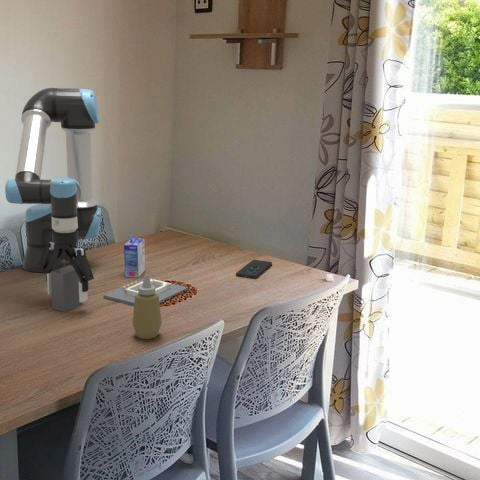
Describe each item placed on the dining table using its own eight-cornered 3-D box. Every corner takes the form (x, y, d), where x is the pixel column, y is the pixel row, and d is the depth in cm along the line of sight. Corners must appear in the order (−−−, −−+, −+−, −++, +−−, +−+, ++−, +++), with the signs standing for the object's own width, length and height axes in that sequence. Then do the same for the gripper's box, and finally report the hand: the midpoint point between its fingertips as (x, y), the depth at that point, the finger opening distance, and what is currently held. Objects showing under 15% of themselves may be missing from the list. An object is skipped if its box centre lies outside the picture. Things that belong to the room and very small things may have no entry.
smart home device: (234, 273, 233) (253, 259, 252) (234, 277, 234) (252, 263, 252) (256, 276, 231) (273, 261, 249) (256, 280, 231) (272, 266, 249)
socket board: (103, 297, 207) (103, 290, 206) (145, 280, 226) (145, 273, 225) (148, 309, 198) (148, 302, 198) (187, 290, 217) (188, 283, 216)
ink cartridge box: (131, 269, 238) (130, 231, 234) (145, 269, 237) (145, 232, 233) (123, 277, 228) (123, 238, 224) (138, 278, 228) (138, 239, 224)
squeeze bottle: (133, 329, 183) (133, 270, 178) (162, 329, 184) (162, 270, 179) (131, 341, 175) (130, 279, 170) (161, 341, 176) (161, 279, 171)
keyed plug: (52, 308, 196) (50, 271, 193) (73, 299, 204) (72, 264, 201) (64, 311, 194) (62, 274, 191) (85, 303, 202) (84, 266, 199)
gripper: (26, 226, 195) (29, 292, 200) (87, 238, 183) (89, 308, 189) (44, 221, 201) (47, 286, 207) (104, 233, 190) (106, 301, 195)
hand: (67, 296), depth 198 cm, fingers open, 12 cm apart
